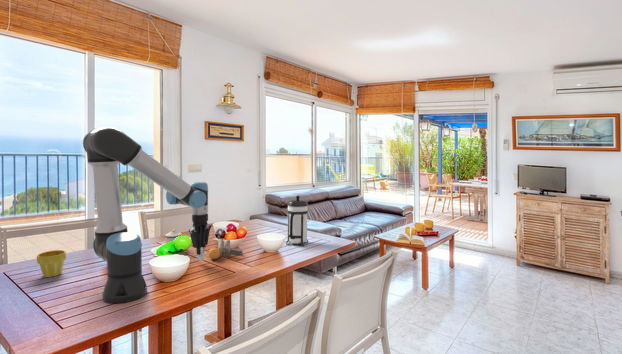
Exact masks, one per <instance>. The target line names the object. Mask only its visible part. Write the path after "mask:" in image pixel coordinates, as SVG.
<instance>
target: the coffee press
mask: <svg viewBox="0 0 622 354" xmlns="http://www.w3.org/2000/svg"><path fill="white" fill-rule="evenodd" d="M308 207H309V203H308V201H307V200H305V199H301V198H300V196H299V195H296V197H295V198H294V199H290V200H288V202H287V241H285V245H286V246H289V245H290V244H297V245H298V244H300V247H305V246H304V245H305V244H304V243H308V242H309V240H308V213H309V212H308V211H309V210H308Z"/></svg>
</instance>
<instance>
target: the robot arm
mask: <svg viewBox="0 0 622 354" xmlns="http://www.w3.org/2000/svg"><path fill="white" fill-rule="evenodd" d="M82 146H83V149H84V151H85V152H86V157H87V164H88V165H90V166H91V167H92V172H93V181H94V182H93V183H94V192H95V202H96V203H95V204H96V212H97V213H96V215H97V227H96V228H95V229H94V239H93V242H92V248H93V251H94V253H95V254H96V256H97V257H98V258H100V259H101V260H103V261H105V262H106V268H107V270H106V271H107V279H106V282H105V284H104V288H103V291H102V300H103V302H105V303H109V304H124V303H130V302H133V301H136V300H139V299H141V298H143V297H144V296H145V295H146V294H147V293H148V286H147V283H146V281H145V280H146V279H145V277H144V275H143V271H142V270H143V269H142V268H143V267H142V266H143V265H142V264H143V263H142V262H143V261H142V255H143V253H142V246H143V244H142V238H141V236H140V235H139V234H137V233H134V232H128V226H127V225H126V224H125V223H124V222H123V212H122V201H121V200H122V199H121V189H120V179H119V178H120V176H119V175H120V174H119V164H122V165H123V166H124V167H125V166H129V167H131V169H134V170H135V171H137V172H138V173H139V174H140V175H142V176H145V178H147V179H149V181H151V182H153V183H155V184H156V185H157V186H159V187H161V188H162V189H163V190H165V191H166V193H165V194H166V195H165V198H166V202H167V204H168V205H183V206H188V207H190V208H191V213H192V215H191V221H192V227H191V229H188V233H189V234H190V239H191V244H192V248H194V249H196V256H197V257H196V258H197V261H199V262H203V261H204V260H205V259H204V258H205V257H204V256H205V255H204V254H205V248H207V245H208V243H209V238H210V237H209V236H210V232H211V228H212V225H209V224H208V221H209V214H208V213H209V187H208V186H209V185H208V183H207V182H205V181H194V182H192V183H191V185H190V184H189V183H188V182H187V181H185V180H183V179H182V178H181V177H179V176H178V175H177V174H176V173H174V172H172V171H171V170H170V169H168V167H166V166H164V165H163V164H162V163H161V162H159V161H158V160H157V159H155V158H154V157H152V156H151V155H150V154H148V153H146V151H145V150H143V147H142V145H140V144H139V143H138V142H136V141H135V140H134V139H133V138H131V137H130V136H129V135H127V134H126V133H125V132H123V131H122V130H120V129H118V128H115V127H110V126H108V127H107V126H106V127H98V128H97V127H96V128H93V129H91V130H89V131H88V132H86V134H85V135H84V137H83V140H82Z"/></svg>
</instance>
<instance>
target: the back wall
mask: <svg viewBox="0 0 622 354" xmlns="http://www.w3.org/2000/svg"><path fill="white" fill-rule="evenodd" d="M223 254H225V246H223ZM230 255H235V256H243V250H242V249H237V248H231V247H230Z"/></svg>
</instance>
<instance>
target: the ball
mask: <svg viewBox="0 0 622 354" xmlns="http://www.w3.org/2000/svg"><path fill="white" fill-rule="evenodd" d="M207 253H208V257H209V258H210V259H211V260H217V259H219V258H220V257H219V256H220V250H219V249H218V247H212V248H210V249H209V250H208V252H207Z"/></svg>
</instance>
